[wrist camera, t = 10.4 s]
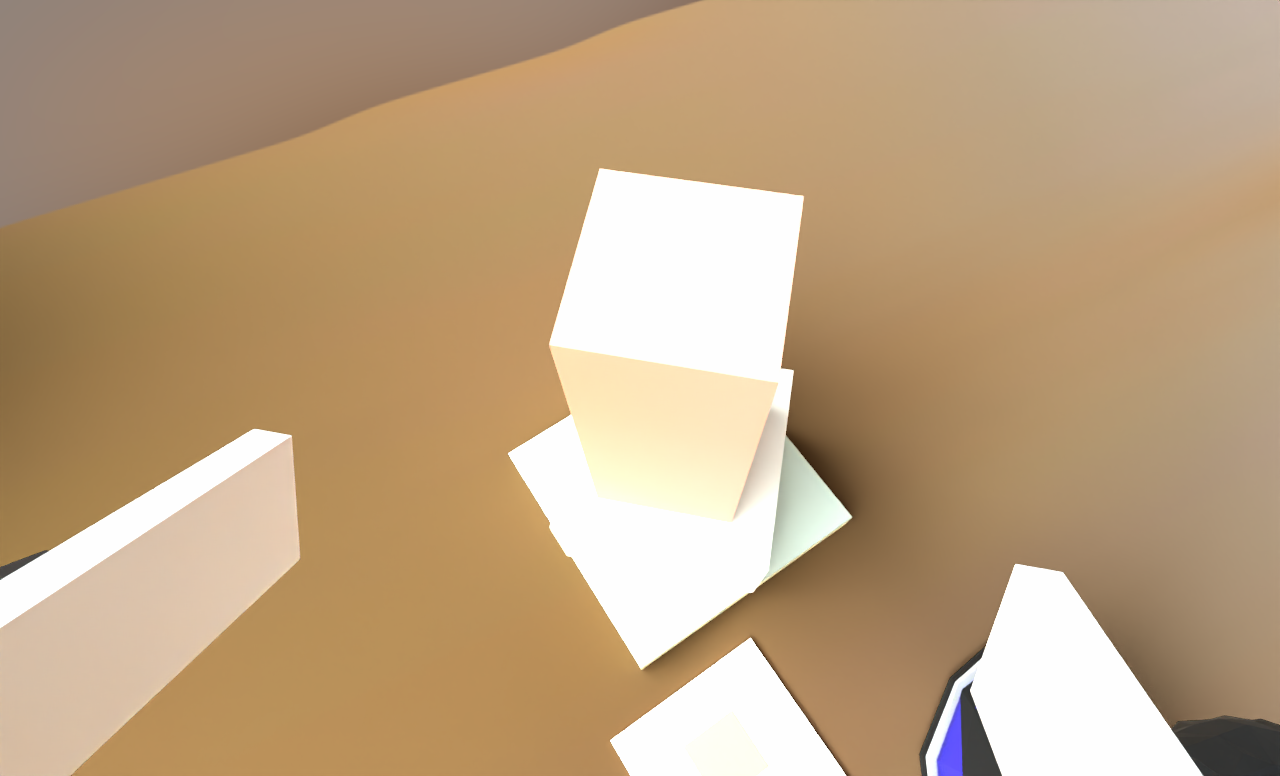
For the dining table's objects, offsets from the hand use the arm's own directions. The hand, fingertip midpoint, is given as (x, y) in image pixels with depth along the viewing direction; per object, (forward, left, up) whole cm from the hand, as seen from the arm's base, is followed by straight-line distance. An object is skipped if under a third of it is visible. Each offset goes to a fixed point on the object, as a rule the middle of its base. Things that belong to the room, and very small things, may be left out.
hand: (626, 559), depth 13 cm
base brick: (-5, +5, -18) cm, 19 cm away
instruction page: (+7, 0, -19) cm, 20 cm away
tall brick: (-5, +5, -13) cm, 14 cm away
